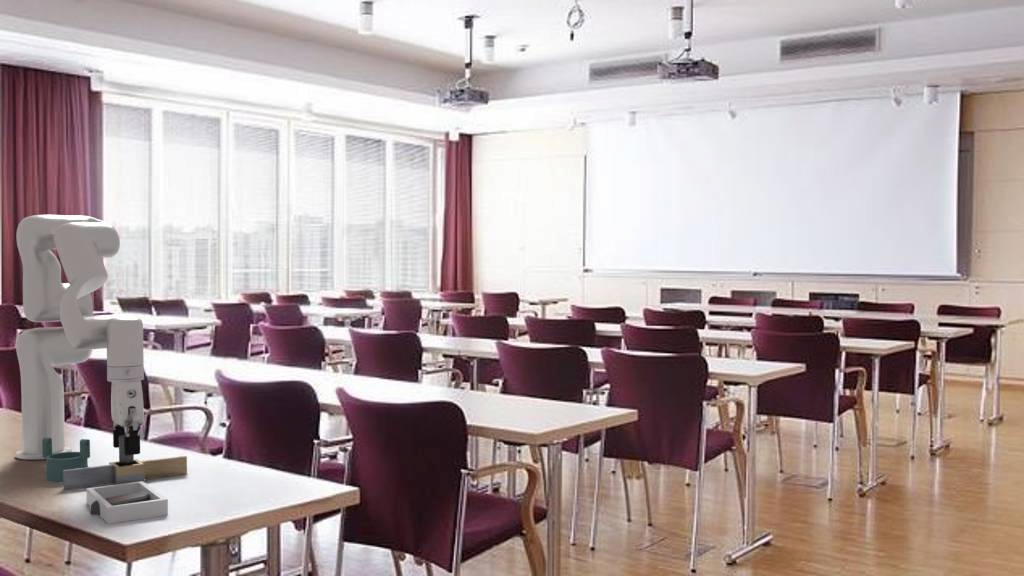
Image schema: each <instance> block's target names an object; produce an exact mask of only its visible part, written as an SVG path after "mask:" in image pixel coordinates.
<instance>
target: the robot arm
mask: <svg viewBox="0 0 1024 576" xmlns="http://www.w3.org/2000/svg"><path fill="white" fill-rule="evenodd" d="M120 244H121V239H120V236H119V234H118V231H117V230H116V228H115V227H114V226H113V225H112V224H111V223H109V222H107V221H104V220H102V219H98V218H95V217H92V216H88V215H68V214H67V215H64V214H62V215H61V214H35V215H29V216H26V217H24V218H23V219H22V220H20V222H19V223H18V226H17V229H16V246H17V249H18V253H19V256H20V260H21V264H22V308H23V314H24V317H25V319H27V320H28V321H30V322H34V323H55V322H56V323H57V322H60V323H61V325H62V326H49V327H48V326H46V327H34V328H31V329H27V330H24V331H23V332H21V333H19V335H18V336H17V338H16V341H15V350H16V356H17V360H18V361H17V362H18V365H19V372H20V388H21V389H20V392H21V430H22V431H21V433H22V434H21V435H22V436H21V437H22V441H21V442H22V449H19V450H17V451H15V458H17V459H19V460H26V461H27V460H28V461H30V460H32V461H33V460H35V461H37V460H39V461H40V460H46V459H45V458H43V453H42V440H43V438H51V439H52V454H55V453H62V452H73V451H72V447H70V446H69V445H68V446H67V445H66V443H65V437H66V436H65V435H66V433H65V432H66V431H65V388H64V387H65V386H64V381H63V379H62V377H61V376H60V375H59V373H58V371H56V369H55V367H56V366H61V365H63V366H64V365H71V364H73V365H74V364H81V363H84V362H86V361H88V360H89V358H91V354H92V352H93V350H102V349H106V380H107V382H110V383H111V387H110V388H111V390H110V391H111V392H110V393H111V394H110V398H111V399H110V409H111V410H110V411H111V412H110V413H111V420H112V422H113V425H112V429H113V430H112V446H113V448H115V449H116V448H118V449H119V436H122V435H126V437H124V454H125V455H134V456H135V455H140V454H141V431H140V429H141V427H140V426H142V425H144V423H145V409H144V394H143V388H142V387H143V385H142V381H143V380H144V379H145V372H144V368H145V367H144V364H145V363H144V324H143V320H142V319H141V318H140V317H135V316H128V315H127V314H126V315H125V314H117V313H116V314H97V315H95V314H94V305H93V298H92V294H91V293H93V292H95V291H97V290H99V289H100V288H101V287H103V286H104V285H105V284H106V282H107V280H108V278H109V277H108V276H109V274H108V271H107V268H106V266H105V264H104V261H103V258H104V259H105V258H113V257H115V256H116V255H117V254H118V253H119V250H120V246H121V245H120ZM53 251H57V255H58V257H59V258H58V257H57V256H56V255H55V254H54V252H53ZM59 260H60V261H59ZM62 268H63V270H64V274H65V276H66V279H67V281H68V282H66V283H65V282H64V283H63V282H62Z"/></svg>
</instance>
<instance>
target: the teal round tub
mask: <svg viewBox="0 0 1024 576" xmlns="http://www.w3.org/2000/svg"><path fill="white" fill-rule="evenodd" d="M42 453H43V458H45V459H44V460H45V471H46V472H45V473H46V474H45V477H46V478H45V480H46V481H47V482H49V483H63V470H69V469H77V468H86V467H89V466H88V465H89V464H88V461H89V460H88V459H90V457H91V441H90V439H87V438H86V439H85V438H81V439H80V440H79V451H72V452H62V453H55V454H52V439H51V438H43V440H42Z"/></svg>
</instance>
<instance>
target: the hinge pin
mask: <svg viewBox="0 0 1024 576" xmlns="http://www.w3.org/2000/svg"><path fill="white" fill-rule="evenodd" d="M124 437H126V435H122V436H119V448H118V461H119V466H125V465H133V464H134V459H135V455H125V454H124Z"/></svg>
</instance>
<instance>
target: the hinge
mask: <svg viewBox="0 0 1024 576" xmlns="http://www.w3.org/2000/svg"><path fill="white" fill-rule="evenodd" d="M187 459H188V457H187V455H182V456H173V457H164V458H163V457H162V458H155V459H147V460H139V459H137V458H136V459H135V458H134V464H133V465H125V466H119V460H118V461H110V462H109V463H108V464H105V465H97V466H88V467H86V468H77V469H69V470H63V482H62V489H63V490H73V489H80V488H90V487H98V486H106V485H117V484H125V483H132V482H140V481H143V482H145V483H146V481H145V480H150V479H157V478H158V479H159V478H166V477H172V476H173V477H174V476H181V475H188V462H187V461H188V460H187Z"/></svg>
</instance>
